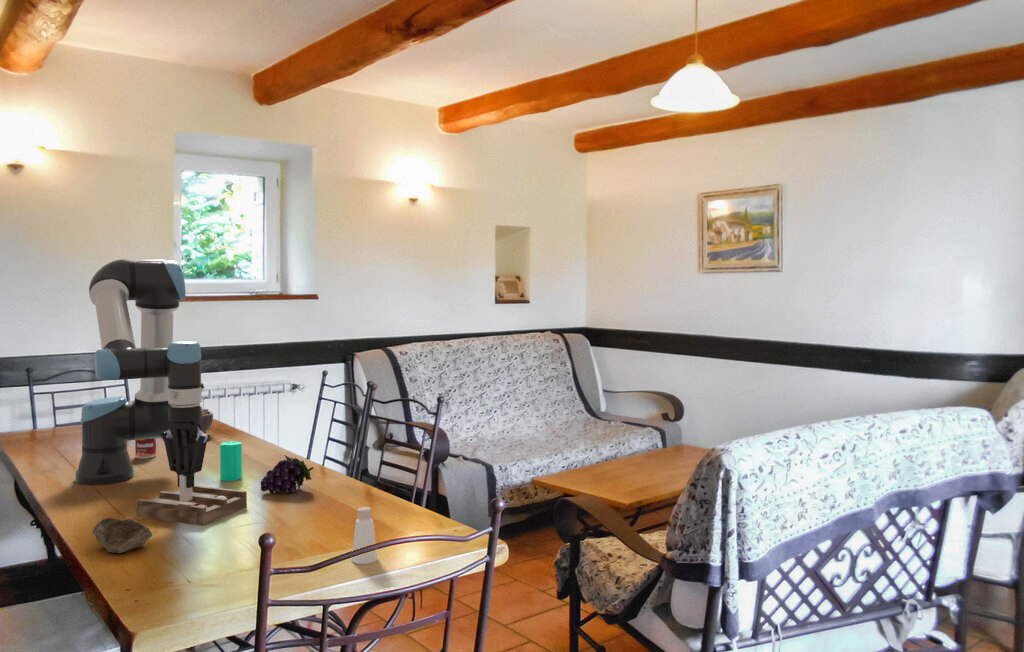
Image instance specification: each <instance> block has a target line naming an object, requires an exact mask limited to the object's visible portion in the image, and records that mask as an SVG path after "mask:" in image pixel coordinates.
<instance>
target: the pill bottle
mask: <svg viewBox="0 0 1024 652" xmlns="http://www.w3.org/2000/svg"><path fill="white" fill-rule="evenodd" d="M134 441H135V442H134V445H135V449H134V451H135V453H134V454H135V455H134V456H135V459H141V460H143V459H144V460H145V459H152V458H155V457H157V456H156V455H157V438H153V439H141V440H134Z"/></svg>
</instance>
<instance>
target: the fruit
mask: <svg viewBox="0 0 1024 652" xmlns="http://www.w3.org/2000/svg"><path fill="white" fill-rule="evenodd" d="M284 457H285V458H286V459H282V460H279V461H278V462H277V464H276V465H275V466H274V467H273V469H272V470H271V469H269V470H268V471H266V476H263V478H262V479H261V481H260V491H262V492H267V491H268V492H269V493H272V494H273V493H274V492H276V493H278V492H279V493H286V492H288V493H289V494H294V493H296V491H297V489H298V490H299V489H301V486H303V484H304V481H306V482H308V481H309V480H310V481H311V480H312V477H311V472H310V471H312V470H314V469H315V468H314V467H313V466H312V467H309V468H308V467H307V465H306V464H305V462H304V460H300V459H299V458H297V457H294V458H293V457H290V456H287V455H284ZM304 478H305V480H304Z"/></svg>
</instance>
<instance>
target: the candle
mask: <svg viewBox="0 0 1024 652" xmlns="http://www.w3.org/2000/svg"><path fill="white" fill-rule="evenodd" d="M219 449H220V450H219V455H220V457H219V458H220V459H219V460H220V461H219V463H220V467H219V468H220V469H219V470H220V472H219V473H220V474H219V475H220V477H219V478H220V480H221V481H224V482H225V481H226V482H233V481H238V479H239V480H241V479H242V478H243V443H242V442H241V441H232V440H229V441H225V442H221V443H220V444H219Z"/></svg>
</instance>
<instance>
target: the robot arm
mask: <svg viewBox="0 0 1024 652" xmlns="http://www.w3.org/2000/svg"><path fill="white" fill-rule="evenodd" d="M184 277H185V276H184V273H183V269H182V266H181V264H180V263H179V262H177V261H176V260H168V259H167V260H166V259H127V258H126V259H125V258H122V259H117V260H112V261H110V262H108V263H107V264H105V265H103V266H102V267H100V269H98V270H97V271H96V273H94V275H93V276H92V278H91V280H90V282H89V283H90V284H89V287H88V294H89V298H90V302H91V303H92V304H93V305H94V306H95V310H96V312H95V313H96V319H97V325H98V331H99V332H98V333H99V339H100V344H101V345H100V346H101V349H97V350H96V351H95V352H94V353H95V354H94V369H95V370H94V371H95V377H96V378H97V379H98V380H101V381H106V380H107V381H121V380H122V381H123V380H134V379H135V380H136V379H138V380H139V379H140V381H139V382H140V385H139V386H140V389H139V390H137V392H135V394H134V400H131V401H130V400H128V399H127V398H126V396H123V395H122V396H111V397H109V396H108V397H103V398H100V399H99V398H98V399H94V400H91V401H88V402H86V403H85V404H83V406H82V408H81V416H80V422H81V456H80V460H79V463H78V468H77V470H76V472H75V482H76V483H78V484H81V485H106V484H112V483H119V482H124V481H126V480H129V479H132V478H133V477H134V476H135V468H134V466H133V465H132V461H131V458H130V455H129V452H128V444H127V443H128V441H129V442H130V441H135V440H141V439H153V438H156V439H162V440H163V442H164V446H165V447H164V448H165V452H166V457H167V461H168V466H169V470H170V471H171V472H174V473H176V476H177V477H176V478H177V487H178V488H179V490H180V502H186V501H189V500H192V499H193V498H192V487H194V485H195V475H196V473H199V472H201V471H202V469H203V466H204V465H203V464H204V459H205V454H206V448H207V444H208V442H209V440H210V438H211V435H210V434H209V433H206V434H204V433H203V432H202V431H201V426H200V420H201V418H202V409H203V408H202V406H201V403H202V402H203V401H202V392H201V383H202V351H201V345H200V343H199V342H198V341H189V340H187V341H185V340H184V341H181V340H180V341H174V312H175V311H176V310H178V309H179V308H180V301H181V302H182V301H184V300H185V299H186V291H187V290H186V283H185V278H184ZM128 301H134V302H135V308H137V309H138V310H139V311H140V315H141V316H140V347H138V348H137V347H136V342H135V337H134V333H133V327H132V321H131V317H130V312H129V307H128ZM199 403H200V405H199Z"/></svg>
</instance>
